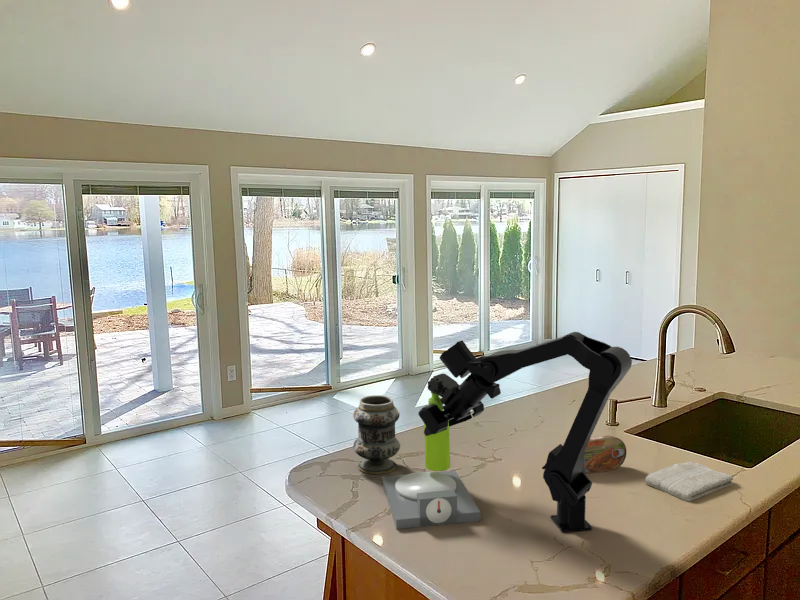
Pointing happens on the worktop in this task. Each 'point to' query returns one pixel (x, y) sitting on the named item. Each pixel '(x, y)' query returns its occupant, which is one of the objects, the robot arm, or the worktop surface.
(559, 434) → the worktop surface
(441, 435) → the soap dispenser
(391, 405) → the apothecary jar
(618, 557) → the worktop surface
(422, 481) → the kitchen scale
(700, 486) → the washcloth
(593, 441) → the tin
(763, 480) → the worktop surface
